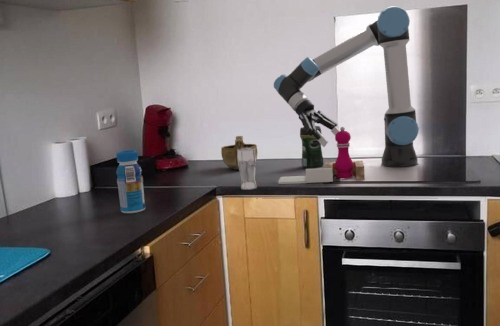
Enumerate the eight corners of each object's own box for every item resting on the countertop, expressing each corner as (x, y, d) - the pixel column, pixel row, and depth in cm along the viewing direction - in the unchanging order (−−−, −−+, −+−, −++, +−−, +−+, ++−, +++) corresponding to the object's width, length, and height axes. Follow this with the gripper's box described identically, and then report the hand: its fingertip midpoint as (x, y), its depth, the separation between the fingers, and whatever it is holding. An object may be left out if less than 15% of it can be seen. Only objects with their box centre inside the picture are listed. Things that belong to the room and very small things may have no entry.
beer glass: (260, 186, 189) (258, 147, 187) (253, 190, 183) (250, 150, 180) (244, 186, 192) (241, 148, 190) (236, 189, 186) (233, 150, 183)
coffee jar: (318, 164, 230) (316, 124, 227) (325, 166, 223) (323, 125, 220) (299, 166, 227) (297, 126, 225) (306, 169, 220) (304, 127, 217)
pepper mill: (352, 174, 198) (350, 125, 195) (354, 178, 191) (352, 127, 188) (334, 175, 199) (332, 126, 196) (336, 179, 192) (333, 128, 189)
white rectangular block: (332, 180, 188) (332, 167, 188) (332, 181, 186) (332, 168, 186) (306, 181, 190) (305, 168, 189) (306, 182, 188) (305, 169, 187)
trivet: (308, 177, 199) (307, 175, 199) (306, 183, 189) (306, 181, 189) (281, 178, 201) (281, 176, 201) (277, 184, 191) (277, 182, 191)
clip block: (362, 172, 202) (362, 160, 201) (364, 179, 188) (364, 166, 187) (325, 174, 204) (325, 162, 204) (325, 180, 191) (324, 168, 190)
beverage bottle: (115, 213, 162) (108, 153, 159) (129, 207, 170) (123, 149, 167) (136, 214, 159) (130, 153, 156) (151, 207, 167) (144, 149, 164)
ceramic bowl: (259, 171, 222) (256, 138, 220) (221, 174, 222) (218, 141, 220) (257, 163, 244) (255, 133, 242) (223, 166, 244) (221, 136, 242)
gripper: (288, 100, 191) (323, 139, 184) (323, 96, 210) (356, 131, 203) (278, 114, 196) (312, 153, 188) (313, 109, 214) (345, 144, 207)
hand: (335, 142), depth 195 cm, fingers open, 13 cm apart
